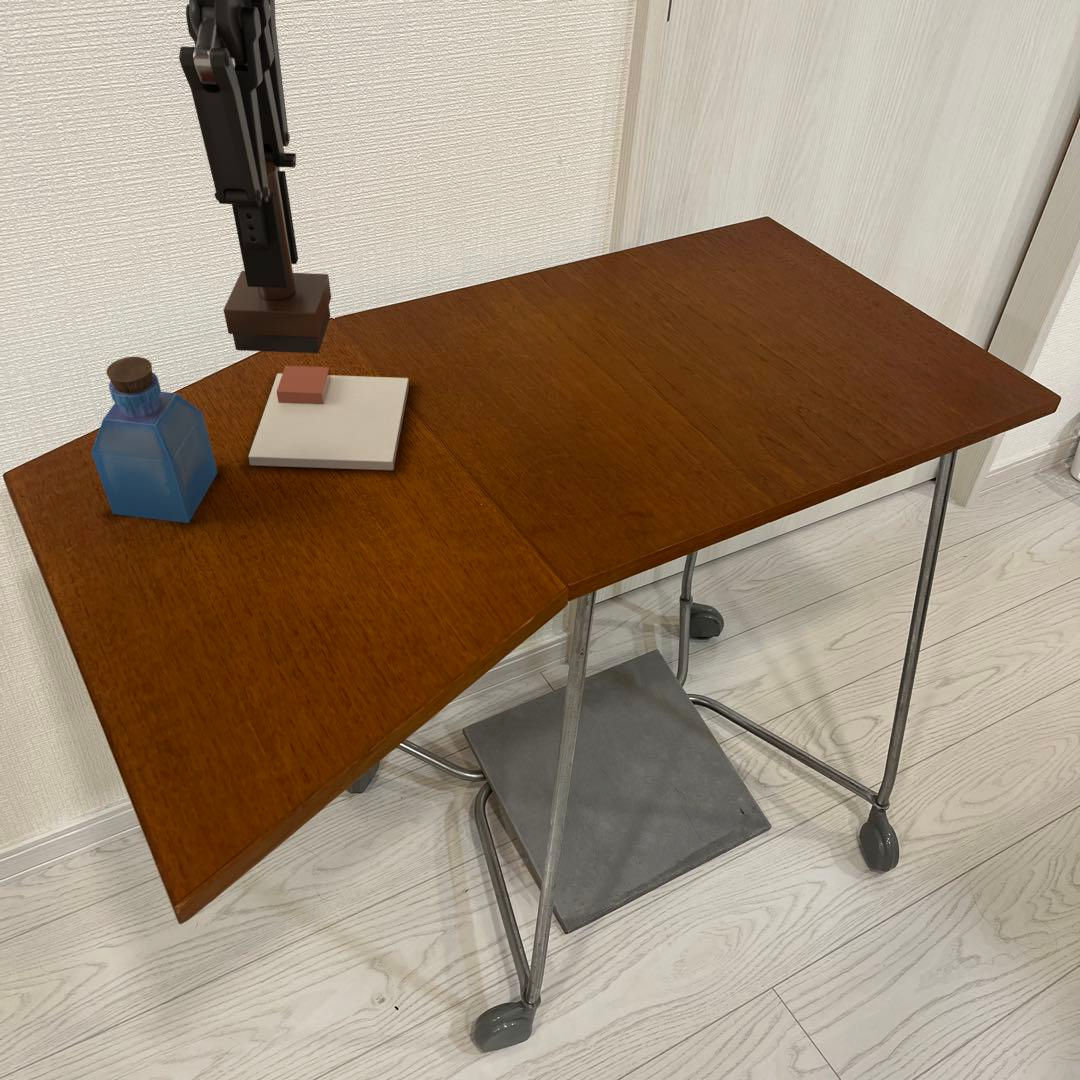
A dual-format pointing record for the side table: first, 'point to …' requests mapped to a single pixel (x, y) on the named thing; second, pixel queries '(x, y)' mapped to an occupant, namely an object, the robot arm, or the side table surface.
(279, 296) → the stamp
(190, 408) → the perfume bottle
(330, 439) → the tile
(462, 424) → the side table surface
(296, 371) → the reddish-brown flat block
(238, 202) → the robot arm
